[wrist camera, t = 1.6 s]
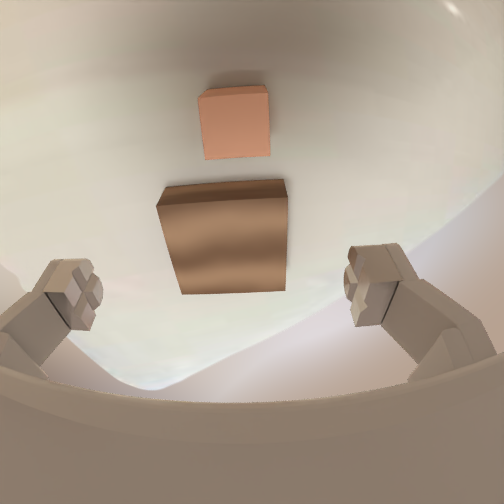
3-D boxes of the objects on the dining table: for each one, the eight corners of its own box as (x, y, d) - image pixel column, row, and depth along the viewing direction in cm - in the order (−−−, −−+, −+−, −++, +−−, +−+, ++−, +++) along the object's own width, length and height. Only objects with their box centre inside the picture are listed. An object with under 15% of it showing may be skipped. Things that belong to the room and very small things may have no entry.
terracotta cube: (206, 89, 22) (197, 98, 18) (264, 85, 22) (268, 93, 18) (212, 140, 25) (205, 160, 21) (266, 137, 25) (270, 155, 21)
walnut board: (166, 186, 29) (156, 206, 26) (283, 178, 28) (287, 197, 25) (187, 271, 36) (182, 294, 33) (282, 267, 36) (285, 290, 33)
